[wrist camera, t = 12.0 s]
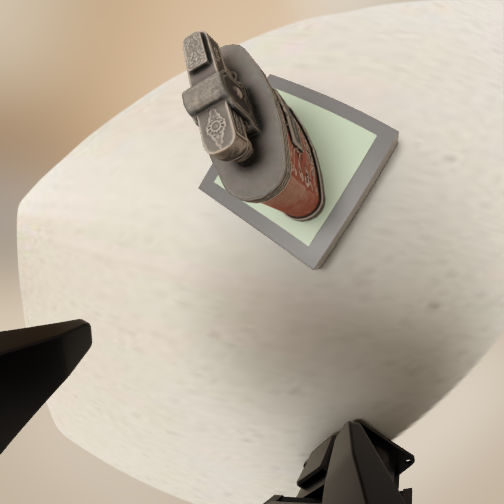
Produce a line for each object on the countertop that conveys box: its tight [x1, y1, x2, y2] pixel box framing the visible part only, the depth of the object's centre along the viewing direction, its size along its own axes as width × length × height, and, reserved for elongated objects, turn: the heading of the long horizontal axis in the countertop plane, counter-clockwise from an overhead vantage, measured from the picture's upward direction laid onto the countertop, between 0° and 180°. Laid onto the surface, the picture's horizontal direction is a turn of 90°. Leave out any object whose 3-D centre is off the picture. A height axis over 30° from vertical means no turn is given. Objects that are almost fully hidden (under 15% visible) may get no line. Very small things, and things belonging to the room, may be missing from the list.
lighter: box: [182, 31, 326, 222], centre depth 13 cm, size 8×3×10 cm, turn 15°
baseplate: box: [199, 74, 398, 270], centre depth 19 cm, size 10×10×2 cm
